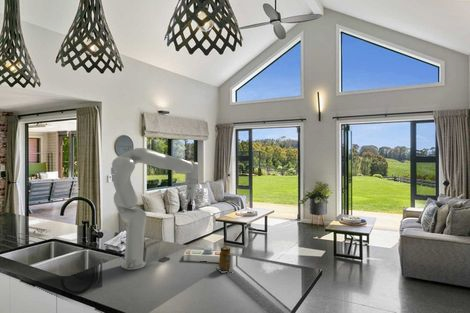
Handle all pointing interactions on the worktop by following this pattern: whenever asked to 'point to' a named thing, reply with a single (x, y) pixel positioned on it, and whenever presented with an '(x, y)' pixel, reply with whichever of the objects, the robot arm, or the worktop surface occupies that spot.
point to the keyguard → (201, 256)
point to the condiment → (224, 259)
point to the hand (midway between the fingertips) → (189, 210)
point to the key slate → (208, 251)
